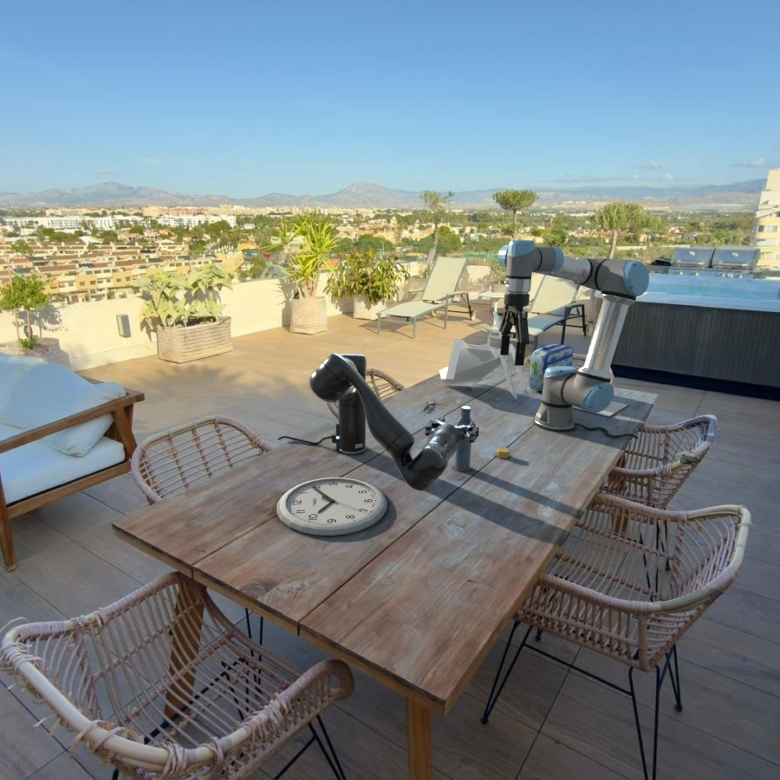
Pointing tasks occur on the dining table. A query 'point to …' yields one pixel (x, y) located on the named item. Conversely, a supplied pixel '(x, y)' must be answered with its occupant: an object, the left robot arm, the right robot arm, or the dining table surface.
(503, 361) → the white plastic object
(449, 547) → the dining table surface
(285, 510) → the wall clock
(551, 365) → the lunch box
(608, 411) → the invitation card
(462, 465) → the bottle
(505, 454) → the cap
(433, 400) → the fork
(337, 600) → the dining table surface
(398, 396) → the dining table surface
